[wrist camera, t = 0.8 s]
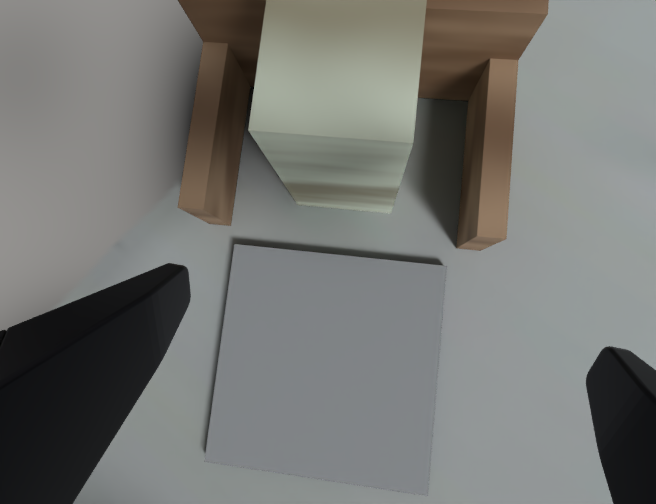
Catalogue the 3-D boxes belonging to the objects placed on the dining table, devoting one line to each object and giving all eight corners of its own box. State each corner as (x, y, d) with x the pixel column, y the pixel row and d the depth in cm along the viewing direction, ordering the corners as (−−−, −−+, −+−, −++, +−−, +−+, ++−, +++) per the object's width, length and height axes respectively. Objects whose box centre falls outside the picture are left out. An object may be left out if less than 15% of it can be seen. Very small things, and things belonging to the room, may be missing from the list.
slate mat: (426, 491, 21) (427, 496, 20) (207, 457, 22) (204, 461, 21) (444, 266, 22) (446, 265, 21) (237, 245, 23) (234, 243, 22)
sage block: (390, 213, 22) (413, 143, 12) (297, 204, 23) (248, 130, 13) (399, 123, 23) (427, -13, 13) (308, 116, 23) (268, -20, 14)
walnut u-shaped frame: (480, 250, 22) (534, 226, 15) (209, 223, 23) (143, 189, 16) (492, 81, 23) (549, -16, 16) (232, 65, 24) (179, -31, 17)
